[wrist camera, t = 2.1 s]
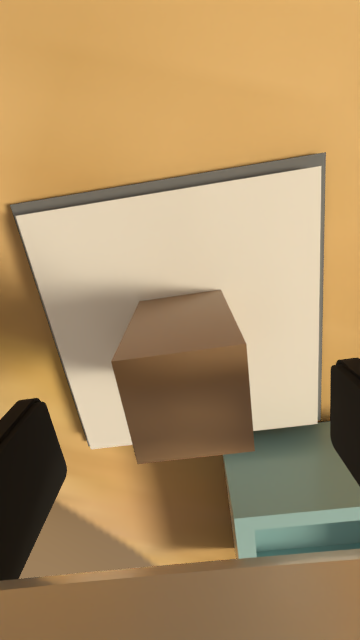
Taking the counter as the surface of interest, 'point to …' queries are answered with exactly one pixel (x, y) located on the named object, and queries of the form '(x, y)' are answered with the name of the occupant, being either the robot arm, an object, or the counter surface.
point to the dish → (292, 494)
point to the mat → (183, 183)
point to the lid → (186, 312)
